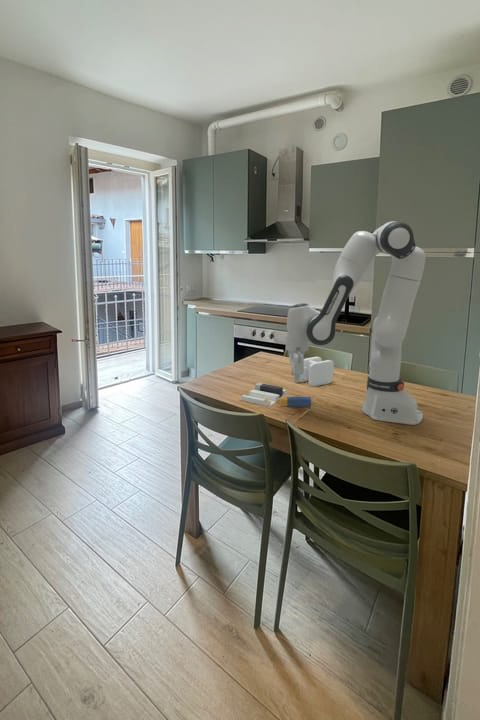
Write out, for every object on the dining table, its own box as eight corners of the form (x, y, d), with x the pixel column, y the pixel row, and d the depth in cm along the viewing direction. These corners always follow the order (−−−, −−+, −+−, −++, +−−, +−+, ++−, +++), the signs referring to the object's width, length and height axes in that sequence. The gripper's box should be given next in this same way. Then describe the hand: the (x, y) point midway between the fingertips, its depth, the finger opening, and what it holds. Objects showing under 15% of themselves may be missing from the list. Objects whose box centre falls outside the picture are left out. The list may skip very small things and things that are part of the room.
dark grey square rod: (282, 396, 175) (282, 387, 174) (279, 398, 173) (279, 389, 172) (258, 391, 181) (258, 382, 180) (254, 393, 179) (255, 384, 178)
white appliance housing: (285, 396, 177) (286, 389, 176) (269, 408, 164) (269, 401, 163) (259, 391, 184) (260, 384, 183) (241, 402, 171) (241, 395, 170)
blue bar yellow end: (309, 406, 167) (309, 396, 166) (310, 408, 164) (310, 399, 163) (280, 405, 167) (280, 396, 166) (280, 408, 164) (281, 399, 163)
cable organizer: (308, 388, 187) (309, 364, 184) (294, 382, 196) (295, 359, 193) (333, 383, 194) (334, 360, 191) (318, 377, 203) (319, 355, 200)
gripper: (308, 352, 148) (306, 387, 152) (301, 339, 168) (300, 371, 172) (291, 351, 148) (289, 387, 152) (286, 339, 168) (285, 370, 172)
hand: (295, 378), depth 162 cm, fingers open, 8 cm apart
